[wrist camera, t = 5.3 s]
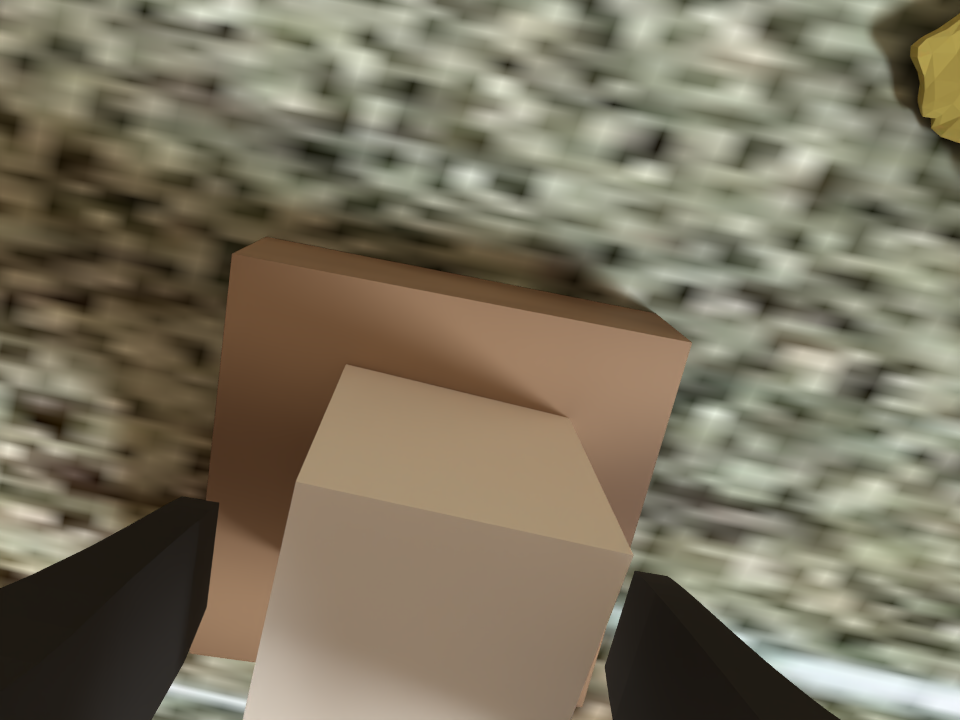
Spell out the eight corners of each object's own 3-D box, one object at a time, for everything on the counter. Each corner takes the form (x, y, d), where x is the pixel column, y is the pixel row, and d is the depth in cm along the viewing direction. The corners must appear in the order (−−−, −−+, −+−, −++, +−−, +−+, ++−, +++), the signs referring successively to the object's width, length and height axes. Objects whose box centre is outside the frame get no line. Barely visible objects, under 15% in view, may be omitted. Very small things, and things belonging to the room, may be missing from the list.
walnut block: (561, 623, 19) (582, 707, 16) (229, 574, 18) (189, 653, 16) (650, 309, 17) (692, 342, 14) (271, 234, 16) (232, 253, 13)
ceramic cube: (506, 606, 16) (536, 810, 11) (299, 564, 15) (233, 760, 10) (568, 417, 14) (633, 555, 10) (345, 363, 14) (296, 481, 9)
